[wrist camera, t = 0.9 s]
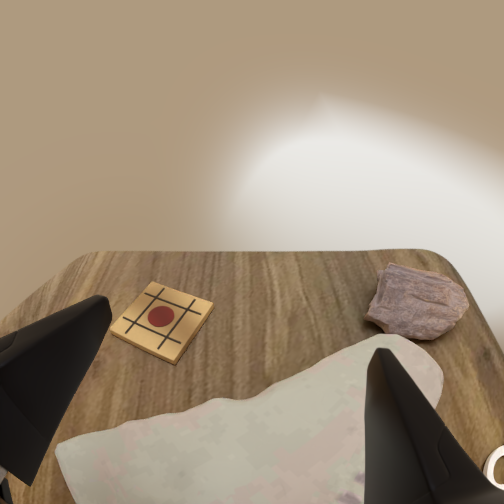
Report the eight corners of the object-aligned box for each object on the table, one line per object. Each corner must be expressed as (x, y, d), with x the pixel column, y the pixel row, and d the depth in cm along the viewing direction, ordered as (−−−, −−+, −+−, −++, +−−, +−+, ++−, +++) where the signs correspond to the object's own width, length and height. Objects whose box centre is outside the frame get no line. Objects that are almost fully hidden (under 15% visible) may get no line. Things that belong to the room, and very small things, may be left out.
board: (175, 365, 26) (173, 360, 25) (111, 333, 28) (108, 328, 28) (214, 307, 32) (213, 302, 31) (153, 286, 34) (151, 280, 34)
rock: (359, 330, 29) (373, 298, 27) (371, 272, 37) (381, 242, 34) (455, 356, 26) (476, 327, 23) (451, 295, 33) (465, 267, 30)
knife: (548, 414, 17) (553, 410, 16) (381, 626, 5) (386, 629, 5) (524, 384, 20) (528, 381, 20) (342, 593, 9) (346, 595, 8)
